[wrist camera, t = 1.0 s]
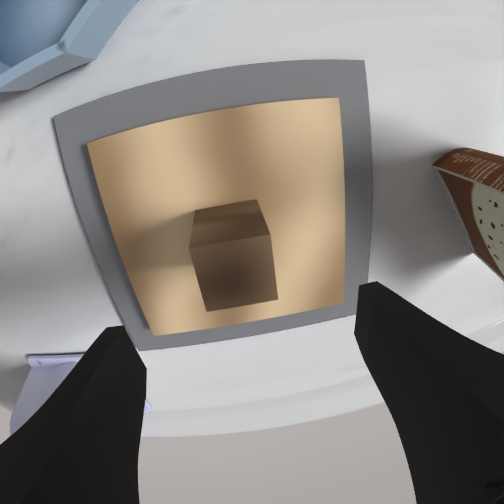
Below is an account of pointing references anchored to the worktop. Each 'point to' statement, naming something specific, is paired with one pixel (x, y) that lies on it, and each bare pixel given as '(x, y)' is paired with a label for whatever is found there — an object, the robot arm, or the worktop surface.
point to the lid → (229, 212)
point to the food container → (477, 200)
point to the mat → (208, 99)
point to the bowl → (53, 37)
